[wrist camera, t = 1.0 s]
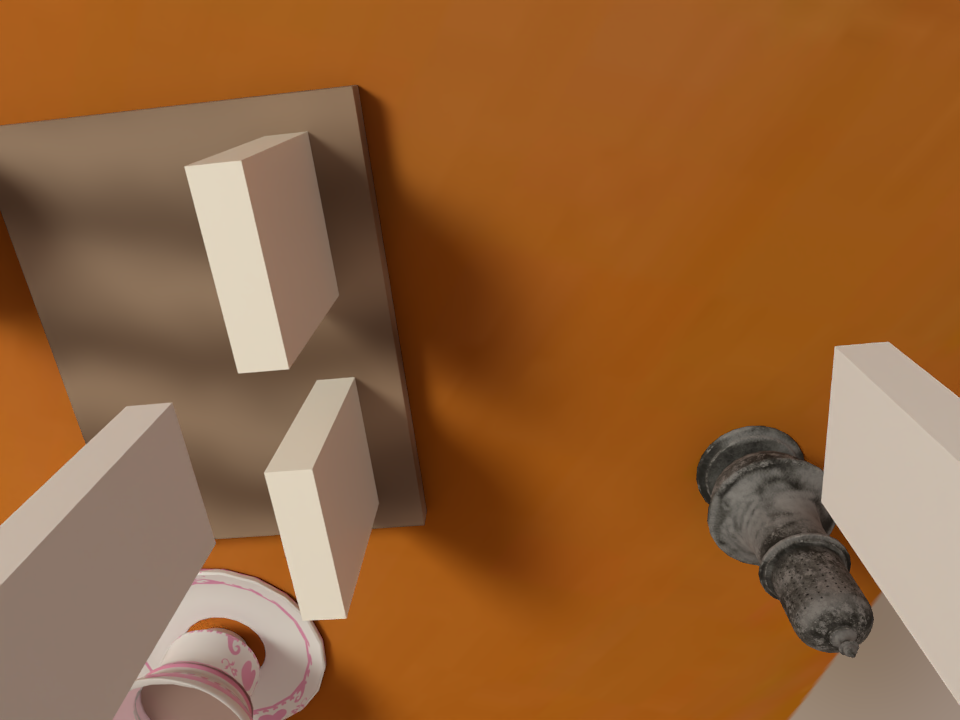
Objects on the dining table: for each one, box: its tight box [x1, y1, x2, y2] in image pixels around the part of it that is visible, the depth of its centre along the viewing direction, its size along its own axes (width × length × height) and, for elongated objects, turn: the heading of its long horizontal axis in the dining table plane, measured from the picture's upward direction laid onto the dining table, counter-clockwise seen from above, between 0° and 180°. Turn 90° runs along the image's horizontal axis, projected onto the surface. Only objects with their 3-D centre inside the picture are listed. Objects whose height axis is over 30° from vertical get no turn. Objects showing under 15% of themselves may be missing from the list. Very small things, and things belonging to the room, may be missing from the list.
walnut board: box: [0, 85, 427, 539], centre depth 34 cm, size 21×16×1 cm
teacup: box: [113, 569, 326, 720], centre depth 40 cm, size 12×12×6 cm
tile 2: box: [264, 377, 379, 621], centre depth 32 cm, size 7×2×8 cm, turn 6°
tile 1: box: [184, 131, 339, 374], centre depth 27 cm, size 7×2×8 cm, turn 6°
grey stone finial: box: [696, 426, 874, 658], centre depth 31 cm, size 6×6×12 cm
